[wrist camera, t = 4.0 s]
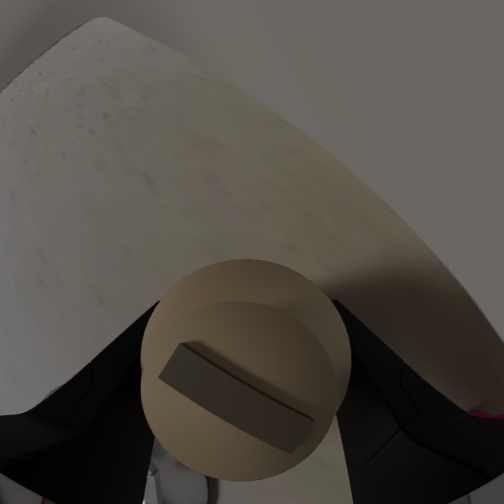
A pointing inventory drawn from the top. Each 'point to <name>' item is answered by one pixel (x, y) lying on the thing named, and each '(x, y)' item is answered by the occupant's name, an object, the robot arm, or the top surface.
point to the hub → (171, 479)
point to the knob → (243, 369)
